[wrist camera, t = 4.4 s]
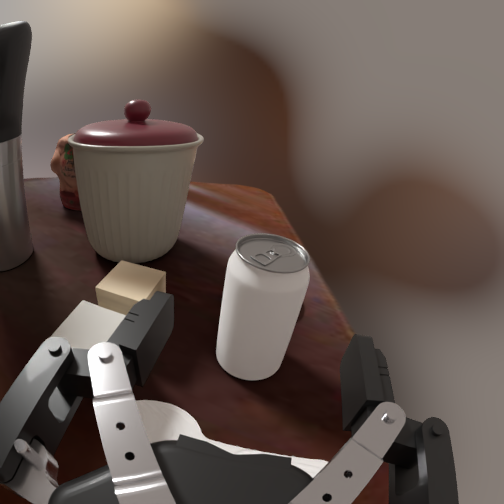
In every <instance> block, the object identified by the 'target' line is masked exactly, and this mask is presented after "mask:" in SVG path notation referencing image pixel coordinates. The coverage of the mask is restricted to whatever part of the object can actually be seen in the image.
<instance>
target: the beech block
mask: <svg viewBox="0 0 504 504" xmlns="http://www.w3.org/2000/svg"><path fill="white" fill-rule="evenodd" d="M156 291H161V292H164V293H166V272H164V271H160V270H156V269H153V268H149V267H145V266H141V265H138V264H134V263H130V262H126V261H123V260H121V261H120V262H119V263H118V264H117V265H116V266H115V267H114V268H113V269H112V270H111V272H110V273H109V274H108V275H107V276H106V277H105V278H104V279H103V280H102V281H101V282H100V283H99V284H98V285H97V286H96V294H97V299H98V305H99V306H100V307H103V308H106V309H109V310H111V311H114V312H117V313H120V314H123V315H127V313H129V311H130V309H131V308H132V307H133V305H134V304H136V303H137V302H139V301H141V300H142V299H147V300H150V299H151V297H152V296H153V294H154V293H155V292H156Z"/></svg>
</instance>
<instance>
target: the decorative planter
mask: <svg viewBox="0 0 504 504" xmlns="http://www.w3.org/2000/svg"><path fill="white" fill-rule="evenodd" d="M74 134H76V133H74ZM74 134H69V135H67V136H65V137H63V138H61V139H60V140H59V141H58V143H57V147H56V150H55V153H54V156H53V158H52V161H51V169H52V171H53V172H54V173H56V174H57V175H58V177H59V180H60V198H61V201H62V204H63V205H64V206H65V207H66V208H69V209H72V210H79V211H81V205H80V200H79V193H78V187H77V180H76V173H75V165H74V155H73V147H72V146H70V145H69V143H68V138H69V137H70V136H72V135H74Z"/></svg>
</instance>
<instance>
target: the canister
mask: <svg viewBox="0 0 504 504" xmlns="http://www.w3.org/2000/svg"><path fill="white" fill-rule="evenodd" d="M150 112H151V106H150V104H149V103H148V102H147V101H145V100H132V101H130V102H128V103H127V104H126V106H125V108H124V114H125V117H126V118H127V119H120V120H109V121H103V122H97V123H93V124H89V125H86V126H84V127H82V128H81V129H79V130H78V131H77V133H76V134H74V135H72V136H70V137H69V138H68V143H69V145H70V146H72V147H73V155H74V165H75V173H76V180H77V187H78V193H79V200H80V205H81V211H82V215H83V220H84V224H85V229H86V233H87V236H88V239H89V241H90V243H91V245H92V247H93V249H94V250H95V251H96V252H97V253H98V254H99V255H101V256H102V257H104V258H106V259H108V260H112V261H113V262H120V261H121V260H123V261H126V262H130V263H141V262H147V261H152V260H153V259H157V258H158V257H161V256H163V255H164V254H166V253H167V252H168V251H169V250H170V249H171V248H172V247H173V245H174V244H175V242H176V240H177V238H178V235H179V231H180V227H181V223H182V218H183V213H184V209H185V204H186V199H187V194H188V189H189V184H190V179H191V175H192V170H193V166H194V161H195V156H196V151H197V147H198V146H199V145H200V144H201V143H202V142H203V141H204V138H203V137H202V136H201V135H199V134H197V133H196V132H195V130H194V129H193V128H191V127H189V126H187V125H184V124H180V123H176V122H171V121H164V120H153V119H147V118H148V116H149V115H150Z"/></svg>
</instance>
